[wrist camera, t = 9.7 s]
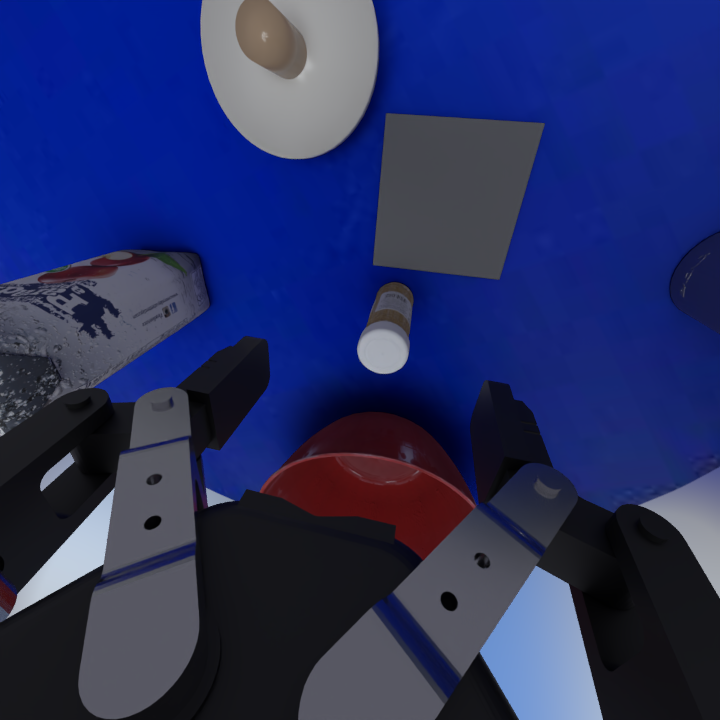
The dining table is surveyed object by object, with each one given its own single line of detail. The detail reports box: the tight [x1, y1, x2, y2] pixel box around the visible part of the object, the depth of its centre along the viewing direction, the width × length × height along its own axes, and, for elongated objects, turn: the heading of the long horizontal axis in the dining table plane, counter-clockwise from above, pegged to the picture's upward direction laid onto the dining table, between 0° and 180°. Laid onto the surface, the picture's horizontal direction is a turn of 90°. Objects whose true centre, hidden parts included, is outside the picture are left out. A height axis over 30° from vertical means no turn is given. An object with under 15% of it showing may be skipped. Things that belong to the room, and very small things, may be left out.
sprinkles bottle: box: [357, 282, 413, 374], centre depth 35 cm, size 5×5×14 cm
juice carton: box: [0, 250, 210, 436], centre depth 33 cm, size 9×10×27 cm
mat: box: [373, 113, 545, 280], centre depth 34 cm, size 14×14×1 cm
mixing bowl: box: [260, 412, 477, 560], centre depth 47 cm, size 28×28×15 cm
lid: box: [201, 0, 379, 159], centre depth 24 cm, size 14×14×6 cm
